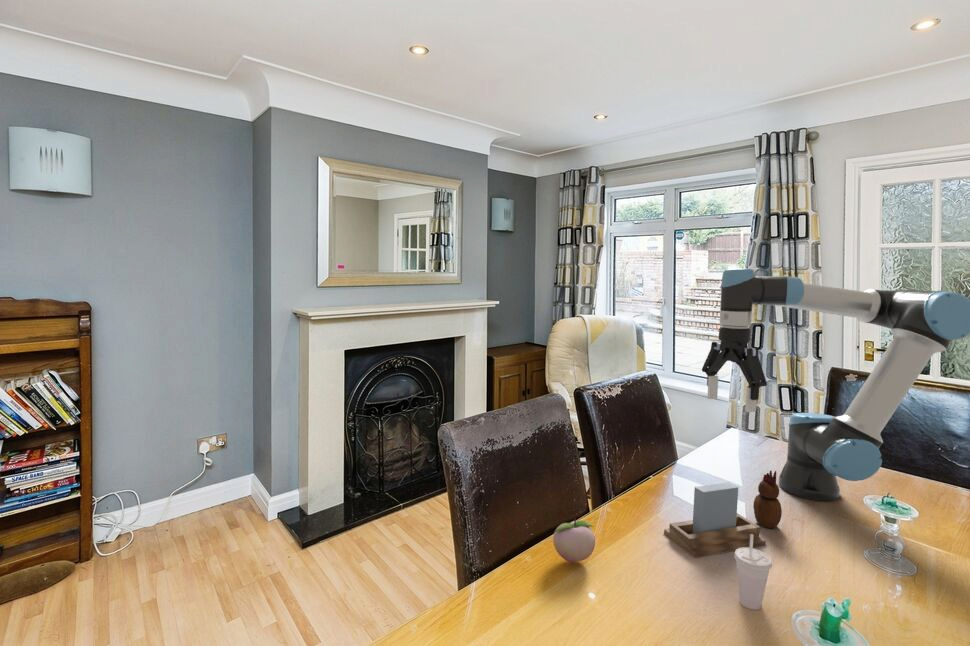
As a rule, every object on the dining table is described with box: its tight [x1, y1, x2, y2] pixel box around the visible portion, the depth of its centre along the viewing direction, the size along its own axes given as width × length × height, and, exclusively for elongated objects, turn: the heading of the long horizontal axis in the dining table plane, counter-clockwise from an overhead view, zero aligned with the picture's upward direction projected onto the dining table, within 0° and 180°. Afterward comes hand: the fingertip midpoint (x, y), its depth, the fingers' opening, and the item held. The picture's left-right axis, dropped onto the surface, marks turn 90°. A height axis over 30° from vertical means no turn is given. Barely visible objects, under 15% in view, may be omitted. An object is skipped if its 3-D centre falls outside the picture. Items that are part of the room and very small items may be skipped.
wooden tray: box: [663, 512, 767, 558], centre depth 118 cm, size 20×11×3 cm, turn 106°
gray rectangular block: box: [692, 481, 739, 534], centre depth 117 cm, size 10×3×12 cm, turn 106°
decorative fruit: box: [552, 518, 596, 563], centre depth 107 cm, size 9×8×10 cm
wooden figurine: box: [752, 470, 783, 529], centre depth 124 cm, size 7×6×15 cm
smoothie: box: [733, 534, 773, 610], centre depth 94 cm, size 6×6×14 cm
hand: (730, 404), depth 132 cm, fingers open, 13 cm apart
